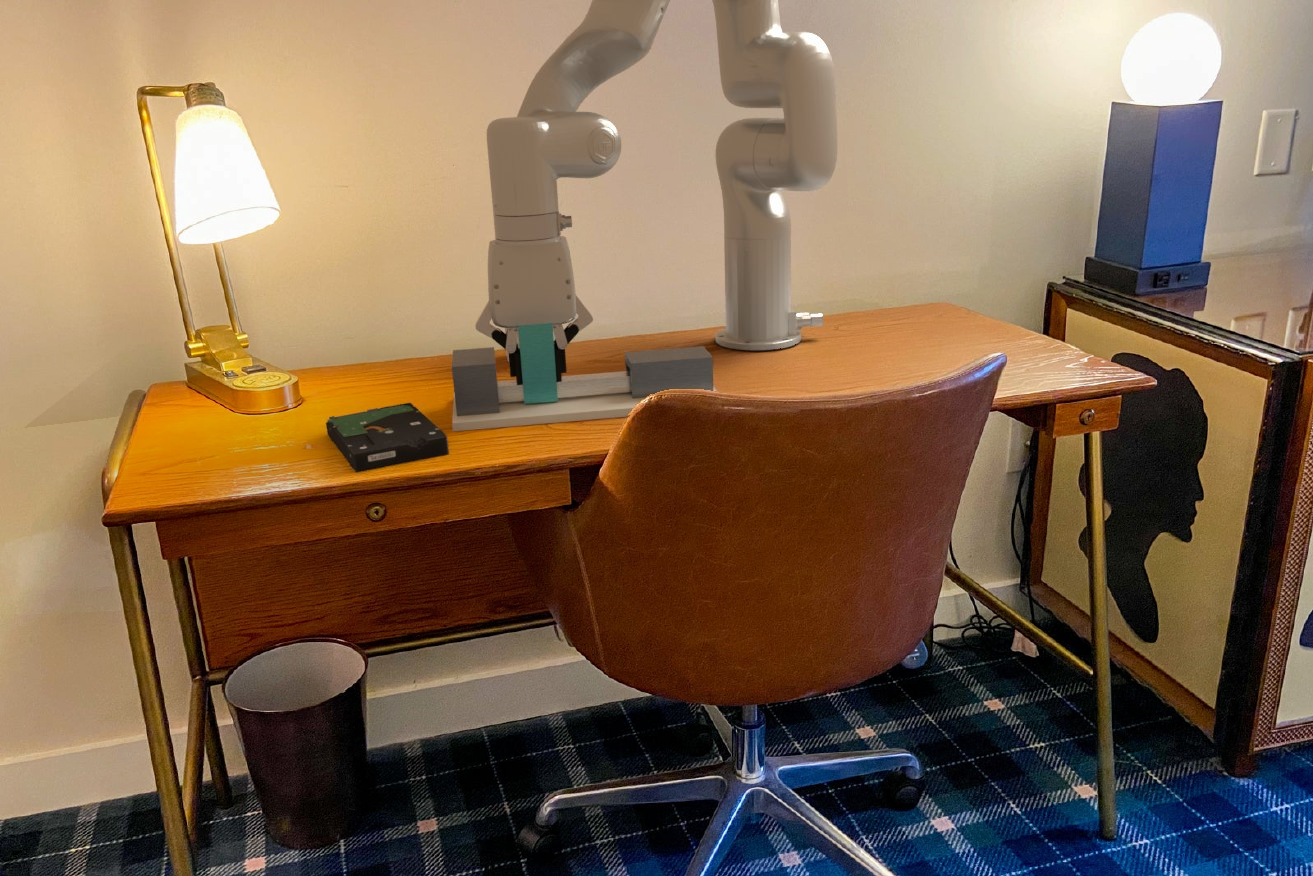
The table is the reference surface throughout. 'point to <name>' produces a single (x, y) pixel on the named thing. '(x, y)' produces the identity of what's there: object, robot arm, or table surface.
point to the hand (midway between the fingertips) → (538, 379)
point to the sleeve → (669, 370)
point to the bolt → (553, 373)
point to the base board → (550, 411)
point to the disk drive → (386, 437)
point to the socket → (475, 381)
